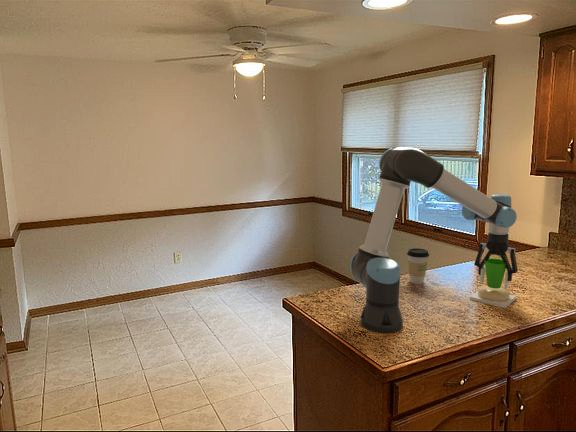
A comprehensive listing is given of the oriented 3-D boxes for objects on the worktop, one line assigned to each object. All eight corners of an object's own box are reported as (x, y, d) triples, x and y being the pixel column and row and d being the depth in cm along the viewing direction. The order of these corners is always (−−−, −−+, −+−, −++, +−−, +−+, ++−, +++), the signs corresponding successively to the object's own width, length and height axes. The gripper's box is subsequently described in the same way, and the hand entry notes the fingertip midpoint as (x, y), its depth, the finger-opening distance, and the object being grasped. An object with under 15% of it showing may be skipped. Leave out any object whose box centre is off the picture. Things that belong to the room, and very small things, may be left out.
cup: (501, 283, 189) (503, 258, 187) (509, 290, 180) (511, 264, 178) (479, 282, 190) (481, 257, 188) (486, 289, 181) (488, 263, 179)
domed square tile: (505, 308, 176) (505, 299, 175) (469, 299, 185) (470, 290, 185) (516, 298, 186) (517, 290, 185) (482, 290, 195) (482, 282, 195)
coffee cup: (430, 285, 203) (432, 253, 200) (408, 285, 203) (410, 253, 200) (424, 278, 213) (425, 247, 210) (403, 278, 213) (405, 247, 210)
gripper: (530, 235, 176) (525, 289, 180) (474, 227, 190) (471, 277, 195) (524, 238, 170) (519, 294, 175) (467, 230, 185) (464, 281, 189)
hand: (493, 285), depth 185 cm, fingers closed on cup, 9 cm apart
